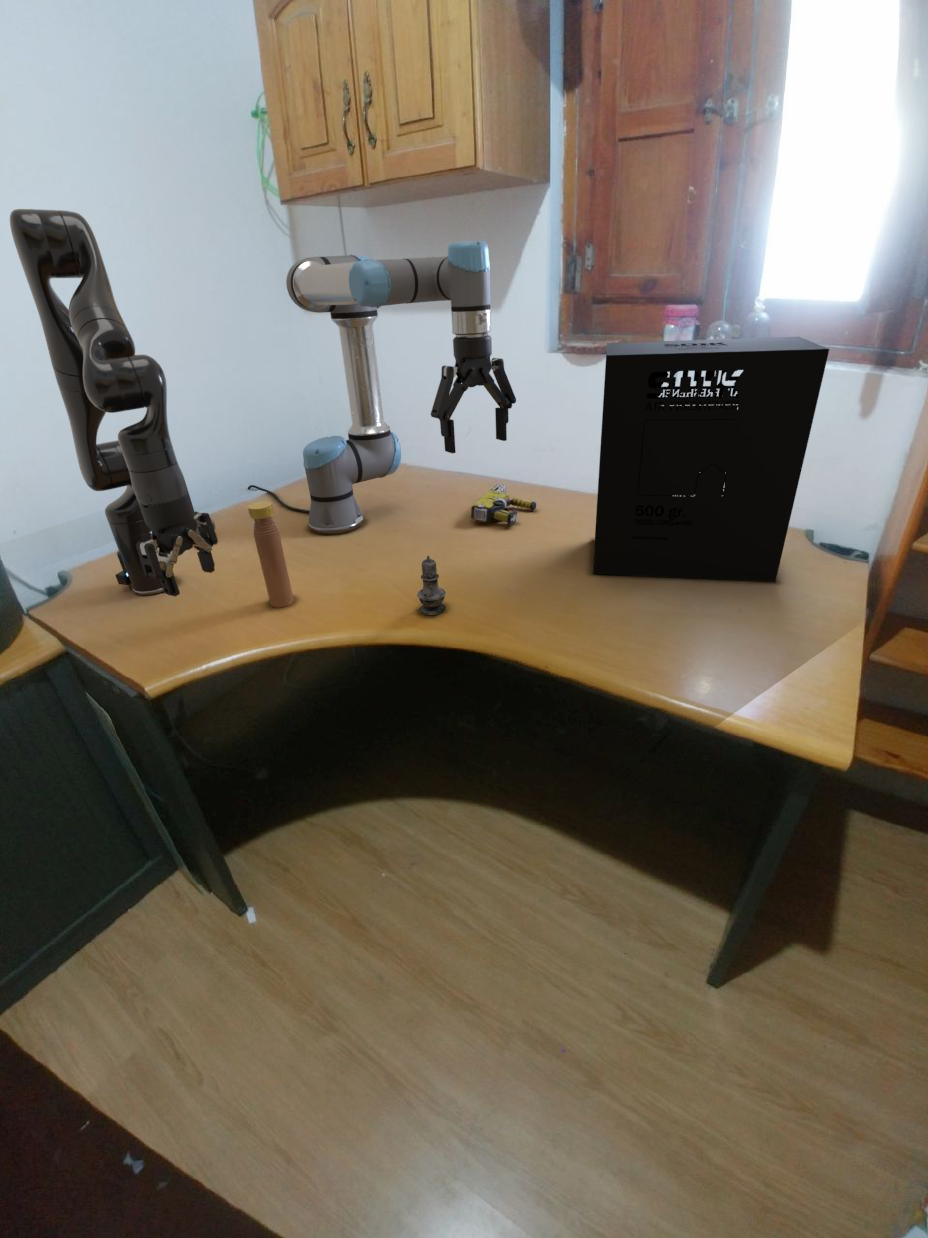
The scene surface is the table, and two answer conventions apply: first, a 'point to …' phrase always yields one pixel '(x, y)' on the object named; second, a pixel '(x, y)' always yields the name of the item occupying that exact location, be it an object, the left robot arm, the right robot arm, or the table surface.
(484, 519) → the toy gun
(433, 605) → the dark grey tiered piece
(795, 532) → the table surface
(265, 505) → the cap
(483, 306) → the right robot arm
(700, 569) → the cardboard box
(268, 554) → the bottle
